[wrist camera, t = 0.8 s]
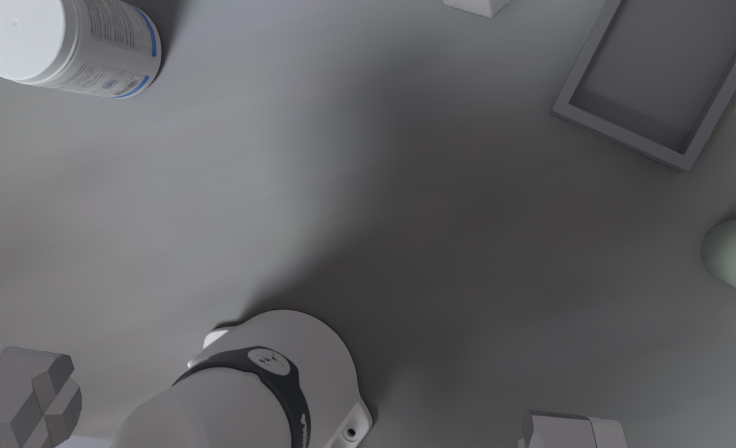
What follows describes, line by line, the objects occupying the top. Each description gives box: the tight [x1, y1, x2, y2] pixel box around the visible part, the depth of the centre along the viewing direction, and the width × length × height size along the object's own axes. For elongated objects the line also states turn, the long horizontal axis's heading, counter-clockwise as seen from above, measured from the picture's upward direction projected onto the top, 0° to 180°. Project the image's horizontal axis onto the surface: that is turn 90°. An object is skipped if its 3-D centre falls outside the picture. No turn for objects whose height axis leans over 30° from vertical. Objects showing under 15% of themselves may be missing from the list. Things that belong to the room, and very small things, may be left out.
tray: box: [550, 0, 736, 172], centre depth 53 cm, size 16×12×3 cm
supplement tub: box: [0, 0, 161, 99], centre depth 59 cm, size 10×10×15 cm
